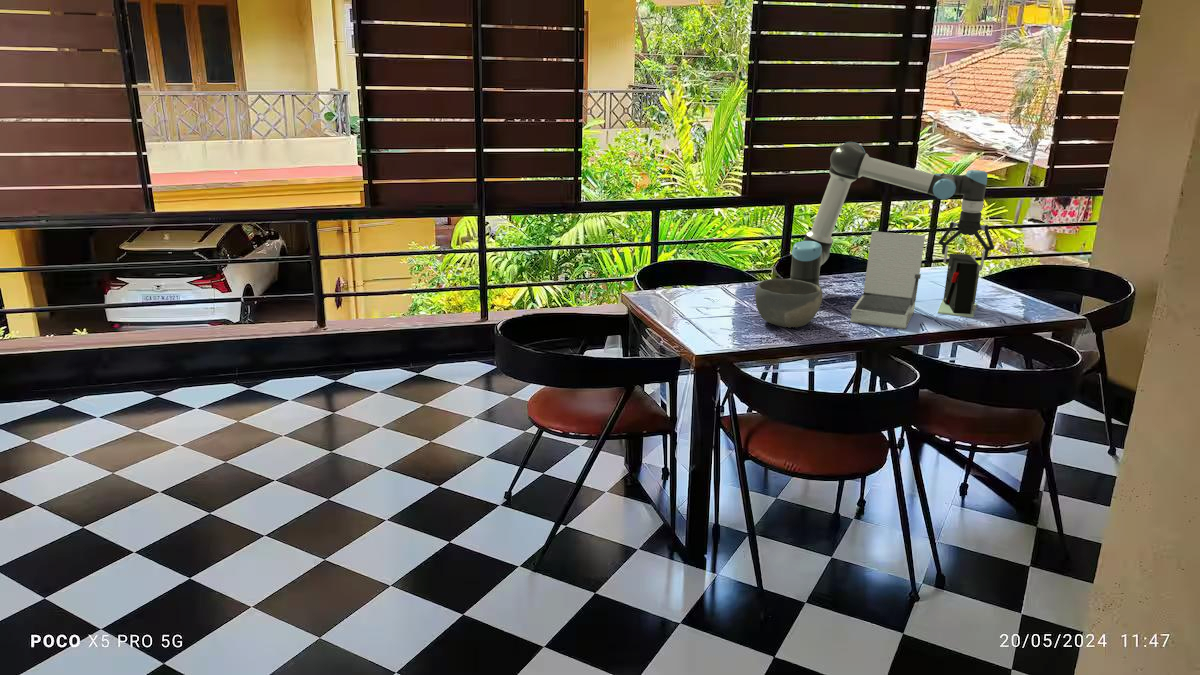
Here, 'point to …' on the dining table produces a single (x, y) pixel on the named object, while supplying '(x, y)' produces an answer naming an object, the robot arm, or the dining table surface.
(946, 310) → the mat
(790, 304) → the bowl
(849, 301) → the dining table surface
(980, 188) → the robot arm
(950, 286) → the electrical component
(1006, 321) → the dining table surface
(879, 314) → the case
